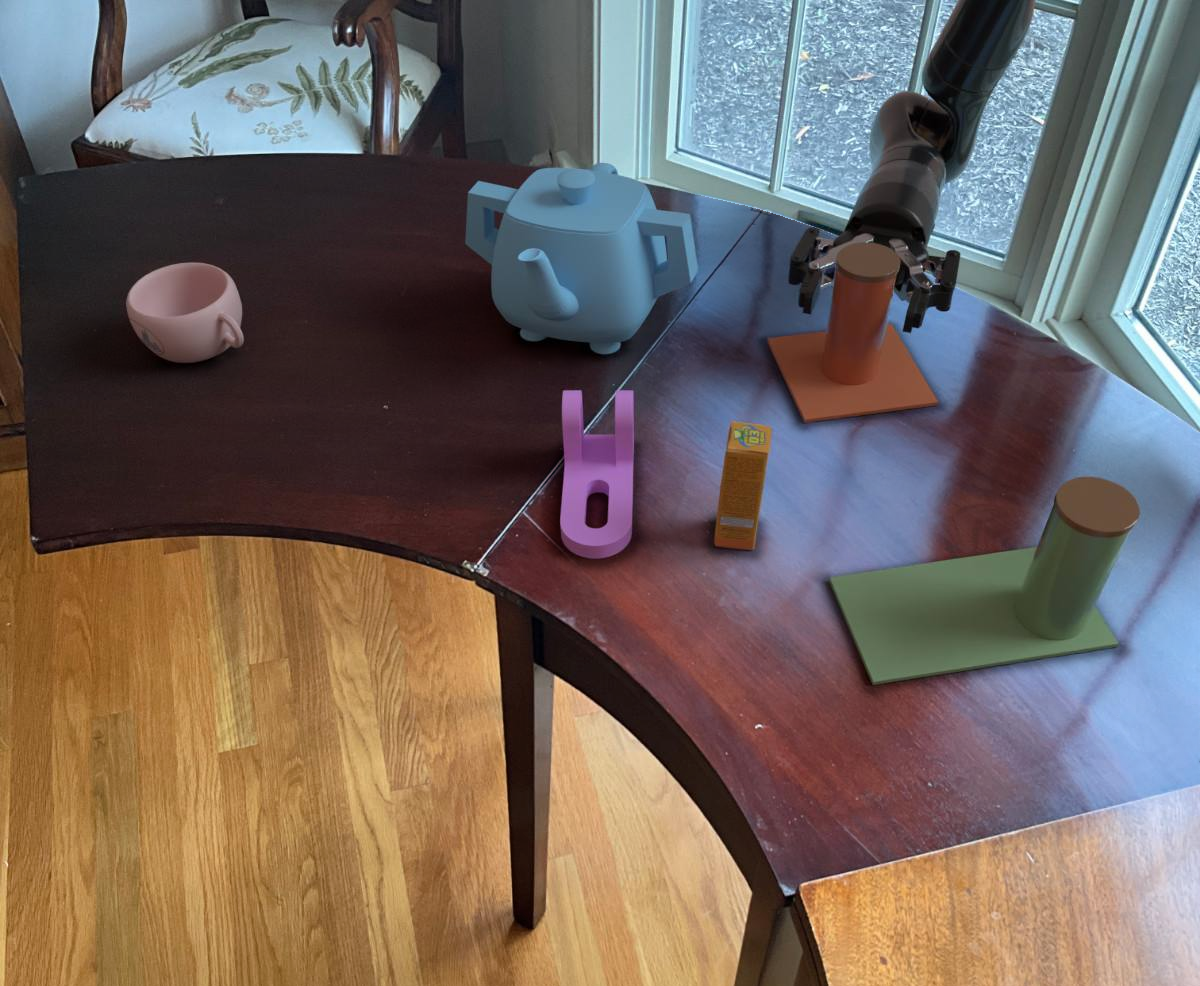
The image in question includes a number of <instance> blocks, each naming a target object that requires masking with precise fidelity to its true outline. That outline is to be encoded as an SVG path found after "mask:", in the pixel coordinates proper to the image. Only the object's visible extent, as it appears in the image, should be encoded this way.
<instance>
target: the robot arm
mask: <svg viewBox="0 0 1200 986" xmlns="http://www.w3.org/2000/svg"><path fill="white" fill-rule="evenodd" d="M1035 6H1036V0H957V2H956V4H955V6H954V8H953V10H952V12H951V13H950V15H949V17H948V19H947V21H946V22H945V24H944V26H943V28H942V30H941V32H940V34H939V35H938V37H937V39H936V41H935V43H934V44H933V47H932V49H931V50H930V52H929V53H928V55H927V58H926V59H925V62H924V64H923V67H922V69H921V70H922V71H921V84H922V86H923V89H924V91H925V92H926V93H927V94H928V96H929V97H927V96H925V95H923V94H921V93H919V92H916V91H912V90H902V91H899V92H896V93H894V94H893V95H891V96H889V97H888V98H887V99H885V101H884V102H883V103H882V104H881V106H880V107H879V109H878V110H877V112H876V114H875V116H874V119H873V121H872V125H871V128H870V132H869V133H870V134H869V139H868V140H869V142H868V151H869V152H868V153H869V159H870V166H871V173H870V175H869V177H868V179H867V180H866V182H865V183H864V185H863V187H862V188H861V190H860V192H859V195H858V196H857V199H856V201H855V203H854V206H853V208H852V211H851V212H850V215H849V218H848V221H847V222H846V225H845V228H844V230H843V233H842V234H839V235H838V236H836V237H835V238H834V239H831V238H826V237H822V236H820V233H821V231H820V229H819V228H818V227H815V226H810V227H807V228H806V229H805V231H804V232H803V234H802V236H801V238H800V240H799V241H798V243H797V245H796V247H795V248H794V250H793V252H792V253H791V254H790V257H789V266H788V274H787V275H788V276H787V283H788V284H789V285H790V286H799V285H800V284H801V285H800V287H799V288H798V289H799V290H798V297H797V307H798V308H802V314H804V315H808V316H809V315H810V316H811V315H812V313H813V311H814V308H815V306H816V303H817V302H818V299H819V297H820V295H821V291H823V290H826V289H828V288H831V289H833V285H834V278H835V272H836V257H837V254H838V252H839V251H840V250H841V249H842V248H844V247H845V246H848V245H850V244H854V243H863V242H867V243H876V244H880V245H884V246H886V247H888V248H890V249H892V250H893V251H895V252H896V253H897V254H898V256H899V258H900V268H899V271H898V273H897V277H896V282H895V287H894V292H893V294H895V295H896V296H897V297H898V299H899V300H900V301H901V302H905V301H906V302H907V303H908V306H907V309H906V312H905V313H906V314H905V318H904V323H903V328H902V332H903V333H907V334H911V333H912V331H913V329H920V328H921V327H922V326H923V323H924V319H925V316H926V314H927V311H928V309H929V308H935V310H937V311H939V312H942V313H945V312H948V311H950V309H951V306H952V301H953V295H954V291H955V290H956V285H957V280H958V273H959V266H960V261H961V256H962V255H961V252H960V251H958V250H956V249H950V250H947V251H946V253H945V257H944V256H938V255H937V256H935V255H930V254H929V252H928V250H927V248H928V245H929V243H930V239H931V236H932V233H933V232H934V229H935V227H936V220H937V217H938V213H939V212H938V211H939V205H940V204H939V203H940V199H941V196H942V193H943V190H944V187H945V185H947V184H949V183H953V181H955V180H957V179H958V178H959V177H960V176H961V175H962V174H963V173H964V171H966V169H967V168H968V166H969V163H970V161H971V160H972V159H971V158H972V156H973V153H974V150H975V148H976V144H977V139H978V135H979V131H980V126H981V122H982V119H983V115H984V112H985V109H986V107H987V104H988V102H989V100H990V98H991V95H992V94H993V92H994V91H995V89H996V87H997V85H998V83H999V82H1000V81H1001V79H1002V78H1003V76H1004V74H1005V73H1006V71H1007V69H1008V68H1009V66H1010V65H1011V62H1013V60H1014V58H1015V57H1016V55H1017V54H1018V51H1019V49H1020V48H1021V47H1022V44H1023V43H1024V40H1025V38H1026V37H1027V34H1028V32H1029V29H1030V26H1031V23H1032V20H1033V17H1034V12H1035ZM926 271H929V272H930V273H931V276H932V277H933V278H935V279H934V282H933V281H932V280H931V279H930V278H929V277H928V276H927V274H926V273H925V272H926ZM934 283H935V284H934Z"/></svg>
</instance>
